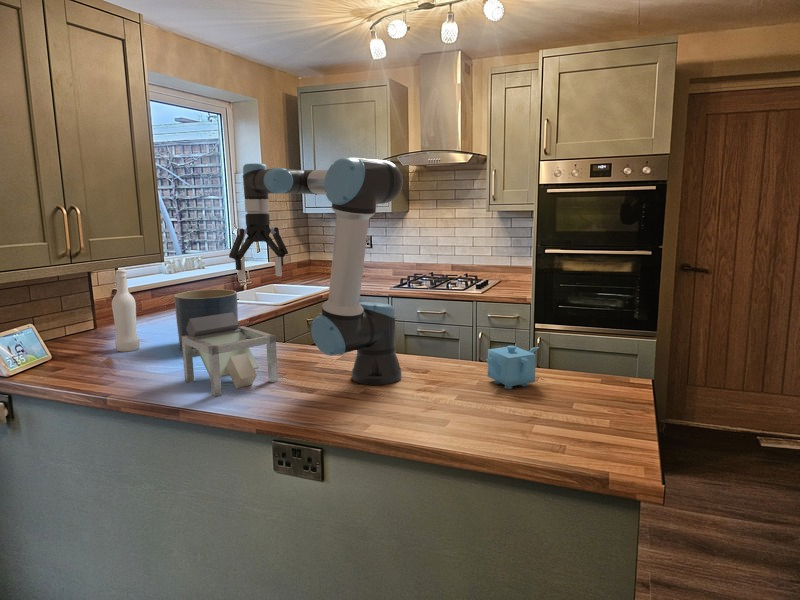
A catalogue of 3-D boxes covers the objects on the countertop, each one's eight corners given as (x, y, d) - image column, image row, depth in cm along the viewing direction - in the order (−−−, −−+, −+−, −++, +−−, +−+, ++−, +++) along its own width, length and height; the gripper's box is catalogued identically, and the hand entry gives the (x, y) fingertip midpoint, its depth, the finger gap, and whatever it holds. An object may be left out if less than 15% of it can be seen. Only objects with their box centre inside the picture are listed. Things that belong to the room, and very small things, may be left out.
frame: (277, 381, 167) (275, 335, 165) (214, 397, 154) (211, 348, 151) (245, 367, 182) (242, 325, 179) (185, 381, 168) (181, 336, 166)
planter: (238, 337, 225) (235, 288, 222) (241, 350, 204) (237, 296, 201) (180, 341, 218) (176, 291, 215) (176, 355, 198) (172, 300, 194)
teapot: (472, 380, 166) (472, 343, 164) (522, 372, 173) (523, 337, 171) (502, 396, 151) (503, 356, 149) (555, 387, 158) (556, 349, 156)
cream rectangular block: (245, 353, 164) (256, 375, 161) (241, 363, 167) (251, 384, 164) (230, 356, 161) (241, 378, 158) (225, 366, 164) (236, 388, 161)
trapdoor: (256, 372, 171) (261, 363, 168) (209, 383, 161) (213, 373, 158) (230, 321, 180) (234, 312, 177) (184, 329, 170) (187, 319, 167)
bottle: (110, 351, 205) (102, 270, 200) (128, 346, 212) (121, 268, 208) (127, 353, 202) (119, 271, 197) (144, 347, 209) (137, 268, 204)
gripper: (284, 212, 191) (287, 273, 194) (215, 213, 174) (219, 280, 177) (296, 212, 185) (299, 275, 189) (226, 213, 168) (231, 282, 172)
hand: (260, 278), depth 183 cm, fingers open, 13 cm apart
